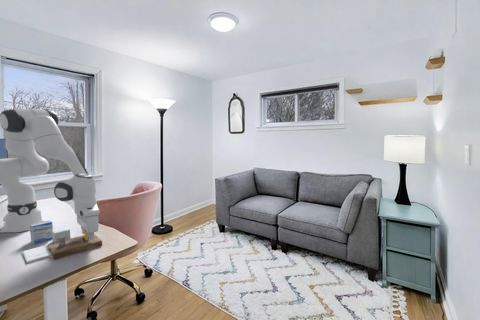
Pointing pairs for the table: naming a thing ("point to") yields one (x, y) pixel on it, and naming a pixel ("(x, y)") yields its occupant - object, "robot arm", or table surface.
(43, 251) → the external hard drive
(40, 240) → the medicine box
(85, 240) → the peg
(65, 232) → the light grey cube
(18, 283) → the table surface
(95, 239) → the board
